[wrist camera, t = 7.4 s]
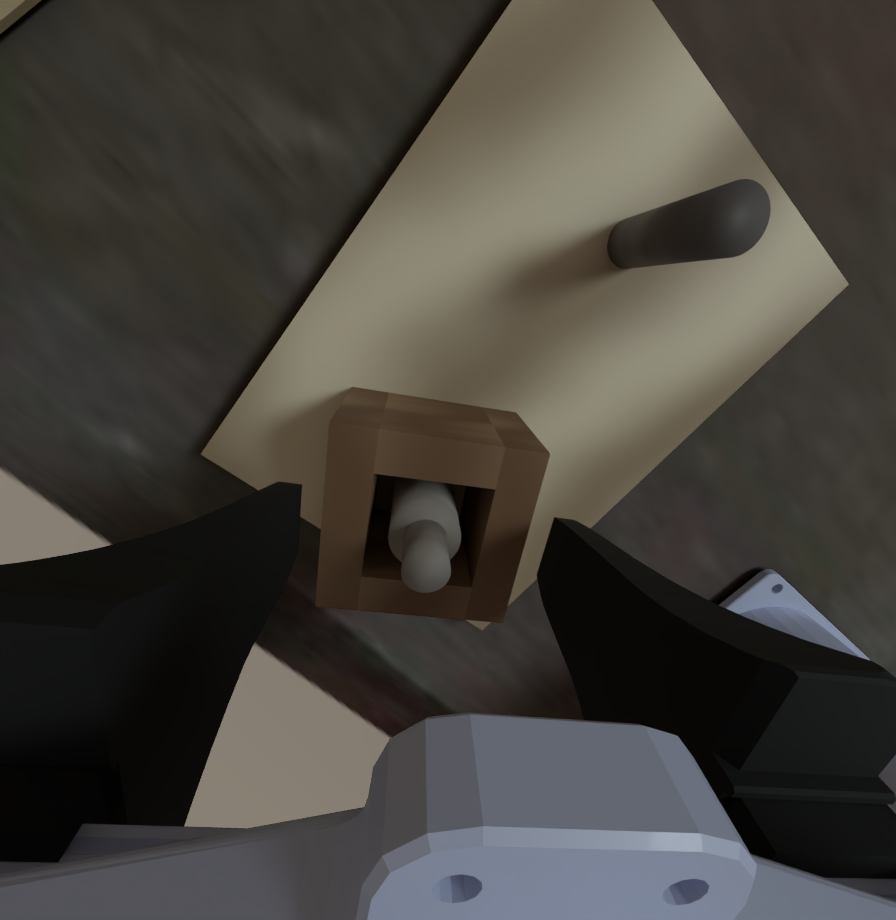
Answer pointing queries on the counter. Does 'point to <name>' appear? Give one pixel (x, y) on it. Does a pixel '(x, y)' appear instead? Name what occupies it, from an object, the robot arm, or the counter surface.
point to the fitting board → (546, 278)
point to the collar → (433, 459)
